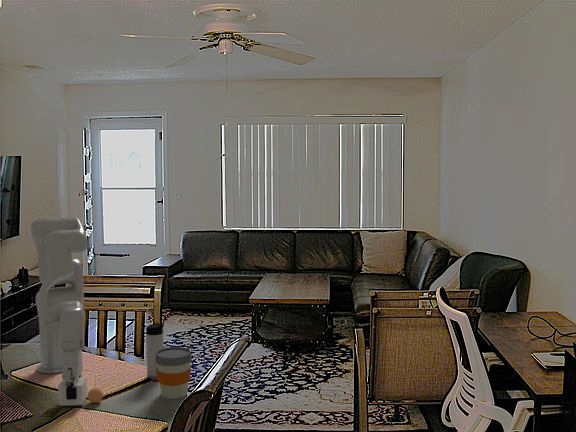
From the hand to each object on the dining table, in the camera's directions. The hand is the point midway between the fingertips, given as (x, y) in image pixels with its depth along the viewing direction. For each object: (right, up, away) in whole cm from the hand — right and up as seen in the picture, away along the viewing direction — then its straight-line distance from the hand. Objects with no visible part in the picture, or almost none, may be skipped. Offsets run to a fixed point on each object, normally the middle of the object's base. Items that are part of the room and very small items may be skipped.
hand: (74, 393), depth 225 cm
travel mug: (+23, 0, +25) cm, 34 cm away
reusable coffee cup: (+32, -2, +8) cm, 33 cm away
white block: (0, -2, 0) cm, 2 cm away
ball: (+7, -1, +1) cm, 7 cm away
